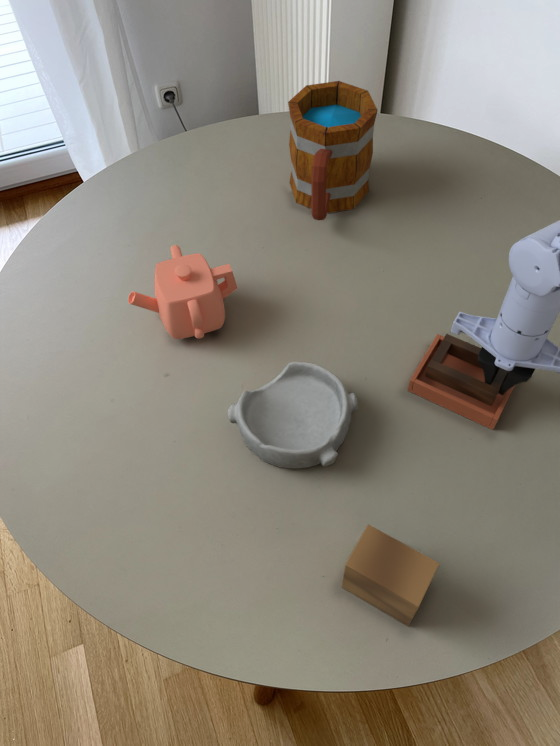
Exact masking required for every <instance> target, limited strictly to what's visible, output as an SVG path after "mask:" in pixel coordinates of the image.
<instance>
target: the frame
mask: <svg viewBox="0 0 560 746" xmlns="http://www.w3.org/2000/svg"><path fill="white" fill-rule="evenodd" d="M481 348H482V347H480V346H477V345H475V344H473V343H470V342H468V341H466V340H463V339H460V338H458V337H455V336H453V335H451V334H448V333H445V335H444V339H443V341H442V342H441V344H440V346H439V347H438V349H437V351H436V352H435V354H434V356H433V358H432V360H431V361H430V363H429V364H428V367H427V370H426V374H425V377H427V378H430V379H432V380H434V381H436V382H438V383H441V384H443V385H445V386H447V387H450V388H452V389H454V390H456V391H459V392H461V393H463V394H465V395H468V396H470V397H472V398H474V399H476V400H479V401H481V402H483V403H485V404H488V405H490V406H492V405H493V403H494V401H495V399H496V397H497V395H498V393H499V390H500V388H501V386H502V384H503V382H504V380H505V378H506V376H507V374H508V372H509V371H507V370H505V369H502V368H500V367H499V369H498V371H497V373H496V375H495V377H494V379H493V381H492V383H491V385H489V384H487V383H485V382H482V381H480V380H478V379H475V378H473V377H471V376H469V375H466V374H464V373H462V372H459V371H457V370H455V369H453V368H450V367H448V366H446V365H443V363H444V361H445V359H446V357H447V356H448V354H449V355H451V356H454V357H456V358H458V359H461V360H463V361H465V362H467V363H470V364H472V365H474V366H477V367H479V368H481V369H482V366H481V365H480V363H479V362H478V354H479V352H480V350H481Z"/></svg>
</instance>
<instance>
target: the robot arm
mask: <svg viewBox="0 0 560 746" xmlns="http://www.w3.org/2000/svg"><path fill="white" fill-rule="evenodd" d="M509 249H510V250H509V254H508V266H509V270H510V272H511V275H512V278H511V280H510V283H509V285H508V288H507V290H506V293H505V296H504V298H503V301H502V303H501V307H500V309H499V312H498V315H497V318H496V317H488V316H481V315H475V314H470V313H465V312H463V311H459V312H458V314H457V315H456V317H455V319H453V322H452V326H451V329H450V333H451V334H454V335H455V336H459V335H461V333H462V334H465V335H467V336H468V337H469V338H470V339H472V340H473V341H474V342H476V344H477V345H479V346H481V347H480V348H481V350H480V352H479V354H478V362H479V363H480V365H481V366H482V369H483V372H484V377H485V383H487V384H489V385H491V383H492V381H493V379H494V377H495V375H496V373H497V371H498V369H499V367H500V368H502V369H505V370H507V371H509V372H508V374H507V376H506V378H505V380H504V382H503V384H502V386H501V388H500V390H499V393H498V394H501V395H504V394H505V392H506V391H507V390H509V389H510V388H511V387H513V386H514V385H515V386H516V385H518V384H521V383H526V382H528V381H529V380H530V379H531V378H532V377H533V375H534V372H535V371H536V370H542V371H549V372H555V373H558V374H560V347H559V346H558V345H557V344H556V343H554V342H553V341H551V340H550V339H549V338H548V336H549V334H550V332H551V331H552V329H553V326H554V324H555V323H556V320H557V318H558V316H559V314H560V220H556V221H555V222H553V223H551V224H549V225H547V226H545V227H542V228H541V229H539V230H536V231H535V232H533V233H531V234H528V235H527V236H525V237H523V238H521V239H519V241H516V242H515V243H513V244H512V245H511V247H510V248H509ZM515 386H514V387H515Z"/></svg>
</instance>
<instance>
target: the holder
mask: <svg viewBox="0 0 560 746" xmlns="http://www.w3.org/2000/svg"><path fill="white" fill-rule="evenodd" d="M444 337H445V335H441V334H440V333H437V334H436V336H435V338H434V339H433V340H432V342H431V343H430V346H429V347H428V349H427V351H426V352H425V354H424V355H423V357H422V359H421V361H420V363H419V364H418V366H417V367H416V369H415V370H414V372H413V374H412V376H410V379H409V382H408V386H407V392H410V393H412V394H414V395H416V396H419V397H420V398H423V399H425V400H427V401H429V402H432V403H434V404H435V405H438V406H439V407H442V408H445V409H446V410H448V411H451V412H453V413H455V414H457V415H460V416H462V417H464V418H466V419H467V420H468V419H469V420H470V421H472V422H475V423H477V424H479V425H480V426H482V427H485V428H487V429H490V430H492V431H494V429H495V427H496V425H497V423H498V421H499V419H500V418H501V414H502V413H503V411H504V409H505V407H506V405H507V403H508V401H509V399H510V396H511V395H512V392H513V390H514V389H515V386H516V385H514V386H513V387H511V388H510V389H509V390H507V391H506V392H505V394H504V395H501V394H498V395H497V397H496V399H495V401H494V403H493V405H492V406H490V405H488V404H485V403H483V402H481V401H479V400H476V399H474V398H472V397H470V396H468V395H465V394H463V393H461V392H459V391H456V390H454V389H452V388H450V387H447V386H445V385H443V384H441V383H438V382H436V381H434V380H432V379H430V378H427V377H425V374H426V370H427V367H428V364H429V363H430V361H431V360H432V358H433V356H434V354H435V352H436V351H437V349H438V347H439V346H440V344H441V342H442V341H443V339H444ZM443 365H446V366H448V367H450V368H453V369H455V370H457V371H459V372H462V373H464V374H466V375H469V376H471V377H473V378H475V379H478V380H480V381H482V382H485V377H484V372H483V369H481V368H479V367H477V366H474V365H472V364H470V363H467V362H465V361H463V360H461V359H458V358H456V357H454V356H451V355H449V354H448V356H447V357H446V359H445V361H444V363H443Z"/></svg>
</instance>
